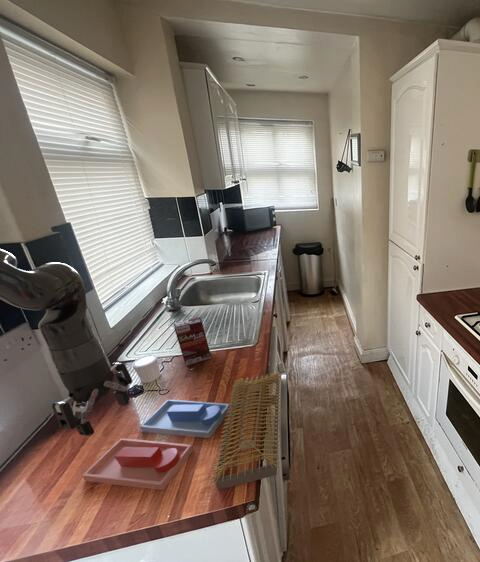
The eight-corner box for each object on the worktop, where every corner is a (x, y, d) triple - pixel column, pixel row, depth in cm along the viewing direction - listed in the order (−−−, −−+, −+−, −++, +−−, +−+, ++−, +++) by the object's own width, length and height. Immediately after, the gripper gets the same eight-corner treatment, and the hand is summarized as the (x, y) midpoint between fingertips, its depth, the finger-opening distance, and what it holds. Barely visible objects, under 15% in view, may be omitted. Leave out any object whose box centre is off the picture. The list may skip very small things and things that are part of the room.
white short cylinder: (167, 372, 108) (161, 355, 105) (150, 385, 101) (143, 368, 99) (151, 369, 109) (145, 353, 106) (133, 382, 103) (126, 365, 100)
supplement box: (185, 366, 110) (173, 328, 104) (184, 360, 114) (173, 322, 108) (212, 358, 114) (201, 321, 108) (210, 352, 118) (200, 315, 112)
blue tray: (142, 432, 84) (139, 426, 83) (169, 404, 93) (167, 399, 92) (210, 438, 81) (208, 432, 81) (231, 409, 91) (229, 403, 90)
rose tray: (85, 481, 71) (81, 475, 71) (123, 443, 81) (120, 437, 80) (163, 490, 69) (160, 484, 68) (193, 450, 78) (191, 444, 77)
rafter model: (235, 388, 99) (232, 373, 96) (282, 379, 102) (279, 364, 100) (212, 495, 67) (206, 476, 65) (280, 477, 71) (276, 458, 68)
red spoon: (115, 471, 73) (109, 461, 71) (134, 452, 77) (128, 442, 76) (169, 473, 70) (163, 462, 69) (185, 453, 75) (179, 442, 74)
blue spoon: (167, 424, 85) (162, 415, 84) (180, 410, 90) (176, 401, 89) (214, 424, 83) (209, 414, 82) (225, 410, 88) (221, 400, 86)
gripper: (97, 339, 70) (120, 394, 76) (24, 381, 57) (59, 444, 63) (126, 341, 69) (147, 397, 75) (59, 384, 56) (91, 447, 62)
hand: (107, 418), depth 69 cm, fingers open, 8 cm apart
